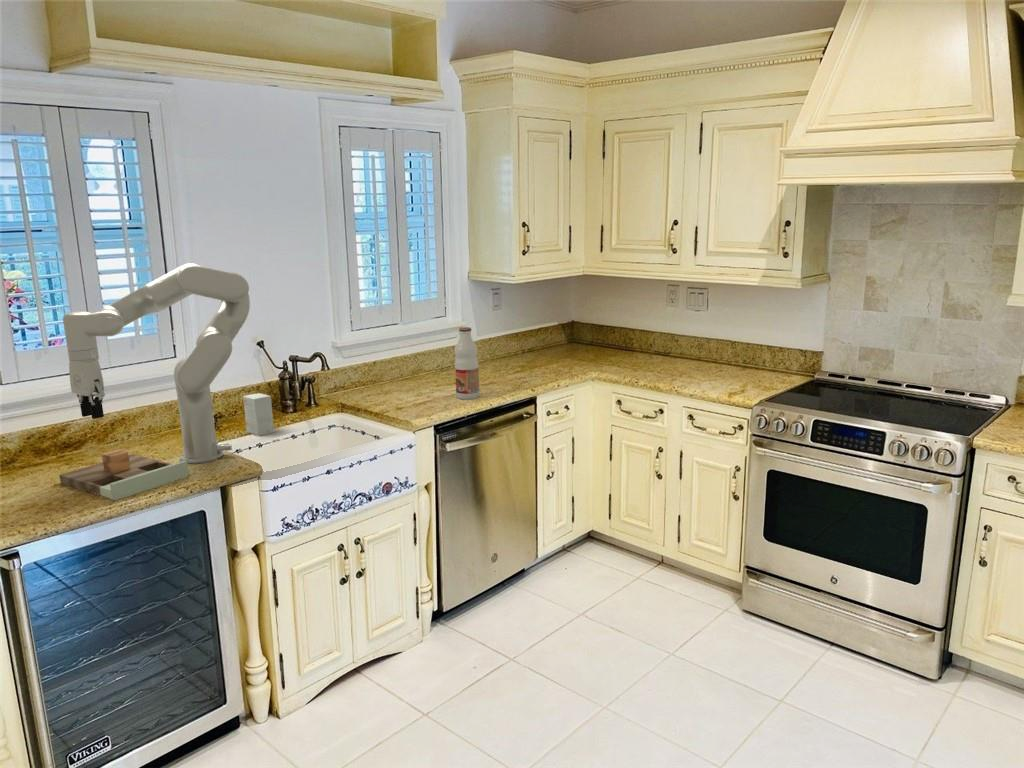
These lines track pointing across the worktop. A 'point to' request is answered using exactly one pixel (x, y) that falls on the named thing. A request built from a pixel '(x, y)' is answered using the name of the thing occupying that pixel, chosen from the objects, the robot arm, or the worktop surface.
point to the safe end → (145, 481)
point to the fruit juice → (466, 366)
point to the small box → (258, 414)
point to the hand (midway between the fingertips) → (92, 416)
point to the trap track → (108, 474)
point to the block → (116, 461)
